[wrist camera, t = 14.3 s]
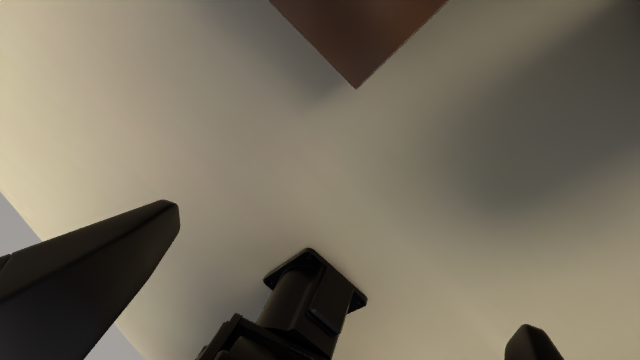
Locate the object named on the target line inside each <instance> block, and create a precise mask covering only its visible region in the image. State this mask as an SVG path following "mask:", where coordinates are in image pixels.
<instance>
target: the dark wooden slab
mask: <svg viewBox="0 0 640 360" xmlns="http://www.w3.org/2000/svg"><path fill="white" fill-rule="evenodd" d="M269 1H270V2H271V4H272V5H273V6H274V7H275V8H276V9H277V10H278V11H279V12H280V13H281V14H282V15H283V16H284V17H285V18H286V19H287V20H288V21H289V22H290V23H291V24H292V25H293V26H294V27H295V28H296V29H297V30H298V31H299V32H300V33H301V34H302V35H303V36H304V37H305V38H306V39H307V40H308V41H309V42H310V43H311V44H312V45H313V46H314V48H315V49H316V50H317V51H318V52H319V53H320V54H321V55H322V56H323V57H324V58H325V59H326V60H327V61H328V62H329V63H330V64H331V65H332V66H333V67H334V68H335V69H336V70H337V71H338V72H339V73H340V74H341V75H342V76H343V77H344V78H345V79H346V80H347V81H348V82H349V83H350V84H351V85H352V86H353V87H354V88H355V89H358V88H359V87H360V86H361V85H362V84H363V83H364V82H365V81H366V80H367V79H368V78H369V77H370V76H371V75H372V74H373V73H374V72H375V71H376V70H377V69H379V68H380V67H381V66H382V65H383V64H384V63H385V62H386V61H387V60H388V59H389V58H390V57H391V56H392V55H393V54H394V53H395V52H396V51H397V50H398V49H399V48H400V47H401V46H402V45H403V44H404V43H405V42H407V41H408V40H409V39H410V38H411V37H412V36H413V35H414V34H415V33H416V32H417V31H418V30H419V29H420V28H421V27H422V26H423V25H424V24H425V23H426V22H427V21H428V20H429V19H430V18H431V17H432V16H433V15H435V14H436V13H437V12H438V11H439V10H440V9H441V8H442V7H443V6H444V5H445V4H446V3H447V2H448V1H449V0H269Z"/></svg>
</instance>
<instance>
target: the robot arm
mask: <svg viewBox="0 0 640 360" xmlns="http://www.w3.org/2000/svg"><path fill="white" fill-rule="evenodd" d="M179 230H180V217H179V208H178V205H177V204H176V203H173V202H170V201H168V200H159V201H156V202H153V203H150V204H148V205H145V206H142V207H139V208H136V209H134V210H131V211H128V212H125V213H122V214H120V215H117V216H114V217H111V218H108V219H106V220H103V221H100V222H97V223H94V224H92V225H89V226H86V227H83V228H80V229H78V230H75V231H72V232H69V233H66V234H64V235H61V236H58V237H55V238H52V239H50V240H47V241H44V242H41V243H39V244H36V245H33V246H30V247H27V248H24V249H22V250H19V251H16V252H14V253H12V254H8V255H5V256H2V257H0V360H84V358H85V357H86V356H87V355H88V353H89V352H90V351H91V350H92V349H93V347H94V346H95V344H97V342H98V341H99V340H100V339H101V337H102V336H103V335H104V334H105V332H106V331H107V330H108V329H109V327H110V326H111V325H112V324H113V323H114V321H115V320H116V319H117V318H118V316H119V315H120V314H121V313H122V311H123V310H124V309H125V308H126V307H127V305H128V304H129V303H130V302H131V300H132V299H133V298H134V297H135V295H136V294H137V293H138V292H139V291H140V289H141V288H142V287H143V285H144V284H145V283H146V282H147V280H148V279H149V277H150V276H151V275H152V273H153V272H154V270H155V269H156V267H157V266H158V264H159V262H160V261H161V259H162V258H163V256H164V255H165V253H166V252H167V250H168V249H169V247H170V246H171V244H172V242H173V241H174V239H175V238H176V236H177V235H178V233H179ZM263 282H264V283H265V285H267V286H268V287H269V288H270V289H271V290H273V292H272V294H271V296H270V298H269V300H268V301H267V303H266V305H265V307H264V309H263V311H262V313H261V314H260V316H259V318H258V320H257V322H256V324H255V323H253V322H251V321H249V320H247V319H245V318H243V316H242V315H240V314H238V313H235V314H234V315H233V317H232V318H231V320H230V321H227V322H223V324H222V326H221V327H220V329H219V331H218V332H217V334H216V335H215V337H214V338H213V340H212V341H211V343H210V344H209V345H208V346H207V347H206V349H205V350H204V351H203V352H202V353H201V354H200V355H199V356H198V357H197V358H196V359H195V360H331V359H332V356H333V353H334V350H335V346H336V343H337V340H338V337H339V334H340V333H341V331H342V328H343V324H344V321H345V318H346V315H347V314H349V313H351V312H353V311H355V310H358V309H360V308H362V307H364V306H366V304H367V300H368V299H367V297H366V296H365V295H364V294H363V293H362V292H361V291H360V290H358V289H357V288H356V287H355V286H354V285H353V284H352V283H351V282H349V281H348V280H347V279H346V278H345V277H344V276H343V275H342V274H340V273H339V272H338V271H337V270H336V269H335V268H334V267H333V266H332V265H330V264H329V263H328V262H327V261H326V260H325V259H324V258H323V257H321V256H320V255H319V254H318V253H317V252H316V251H315V250H313V249H311V248H307V249H305V250H303V251H302V252H300V253H299V254H297V255H296V256H294V257H293V258H291V259H290V260H288V261H287V262H285V263H284V264H282V265H281V266H279V267H278V268H276V269H275V270H273V271H272V272H270V273H269V274H267V275H266V276H265V278H264V280H263ZM504 360H564V359H563V357H562V356H561V354H560V353H559V351H558V350H557V348H556V347H555V345H554V344H553V343H552V341H551V340H550V338H549V337H548V335H547V334H546V333H545V332H544V331H543V330H542V329H540V328H537V327H534V326H531V325H528V324H523V325H522V326H521V327H520V328H519V329H518V330H517V331H516V333H515V334H514V335H513V336H512V338H511V339H510V340H509V342H508V343H507V345H506V349H505V358H504Z"/></svg>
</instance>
